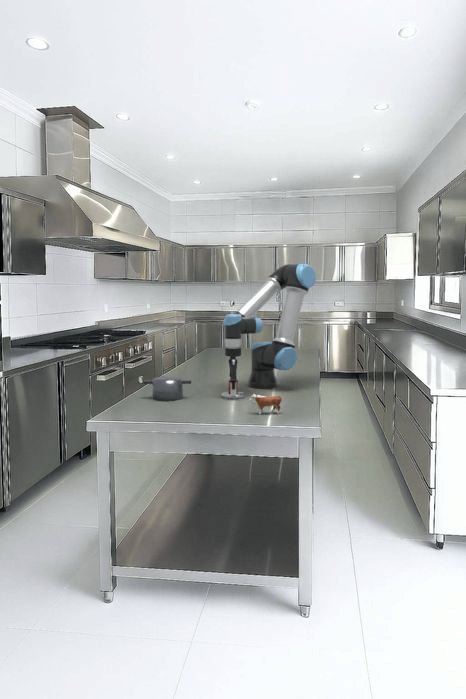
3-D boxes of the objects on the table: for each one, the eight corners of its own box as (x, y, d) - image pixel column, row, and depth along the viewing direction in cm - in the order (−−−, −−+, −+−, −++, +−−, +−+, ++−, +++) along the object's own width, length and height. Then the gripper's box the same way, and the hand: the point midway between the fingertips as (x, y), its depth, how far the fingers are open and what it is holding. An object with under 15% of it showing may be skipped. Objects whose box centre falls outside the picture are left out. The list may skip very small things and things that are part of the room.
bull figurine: (248, 412, 230) (248, 393, 229) (280, 411, 231) (280, 392, 230) (249, 415, 226) (250, 395, 225) (282, 414, 227) (282, 394, 226)
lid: (244, 394, 267) (244, 378, 266) (244, 399, 256) (244, 382, 255) (221, 394, 267) (221, 378, 266) (221, 399, 256) (221, 382, 255)
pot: (191, 394, 265) (191, 376, 264) (190, 401, 252) (190, 381, 250) (145, 395, 265) (145, 376, 263) (142, 401, 251) (141, 381, 250)
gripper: (224, 344, 270) (224, 388, 272) (225, 350, 247) (225, 398, 249) (239, 344, 270) (239, 388, 273) (242, 350, 247) (242, 398, 250)
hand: (232, 393), depth 261 cm, fingers closed on lid, 11 cm apart
